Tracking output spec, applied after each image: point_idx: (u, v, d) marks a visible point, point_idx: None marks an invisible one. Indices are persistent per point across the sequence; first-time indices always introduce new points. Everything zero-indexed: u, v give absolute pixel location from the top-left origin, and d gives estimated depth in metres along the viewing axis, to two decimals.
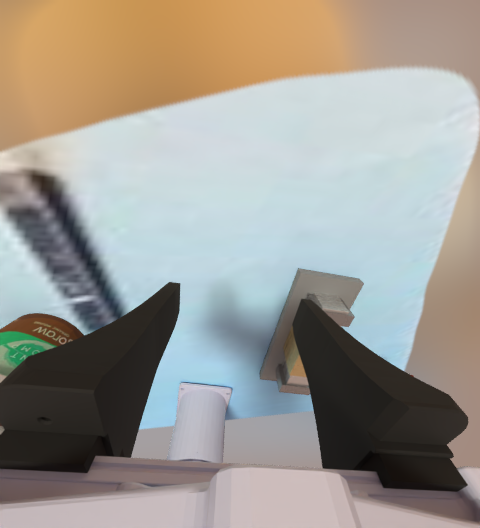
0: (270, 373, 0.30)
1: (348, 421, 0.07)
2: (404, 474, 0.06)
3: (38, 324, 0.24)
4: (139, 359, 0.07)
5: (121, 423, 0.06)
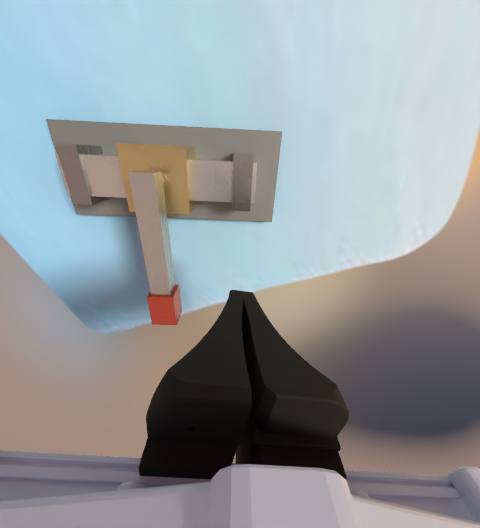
0: (71, 137, 0.16)
1: None
2: None
3: None
4: None
5: None
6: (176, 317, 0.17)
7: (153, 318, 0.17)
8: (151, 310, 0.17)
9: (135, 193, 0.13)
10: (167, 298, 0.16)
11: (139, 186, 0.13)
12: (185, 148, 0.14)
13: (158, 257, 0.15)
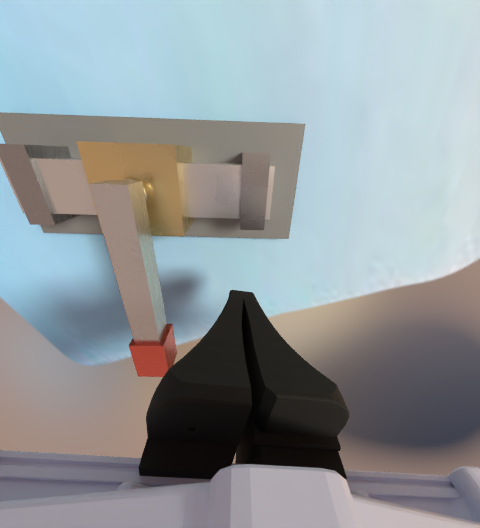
0: (28, 136, 0.13)
1: None
2: None
3: None
4: None
5: None
6: (168, 368, 0.13)
7: (139, 370, 0.13)
8: (135, 361, 0.13)
9: (102, 214, 0.09)
10: (156, 346, 0.12)
11: (107, 204, 0.09)
12: (175, 147, 0.10)
13: (141, 296, 0.11)
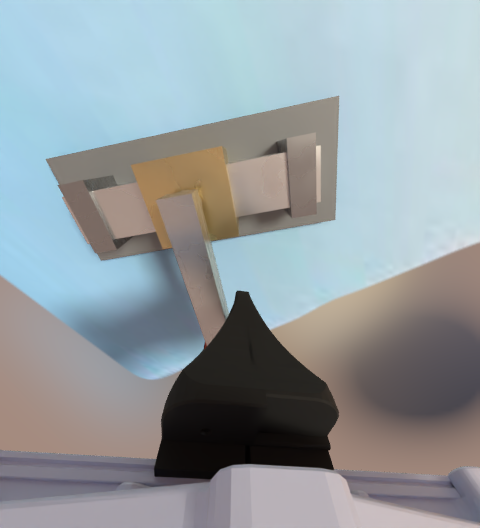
0: (78, 174, 0.14)
1: None
2: None
3: None
4: None
5: None
6: None
7: None
8: None
9: (170, 227, 0.09)
10: None
11: (174, 216, 0.09)
12: (222, 149, 0.10)
13: (211, 302, 0.11)
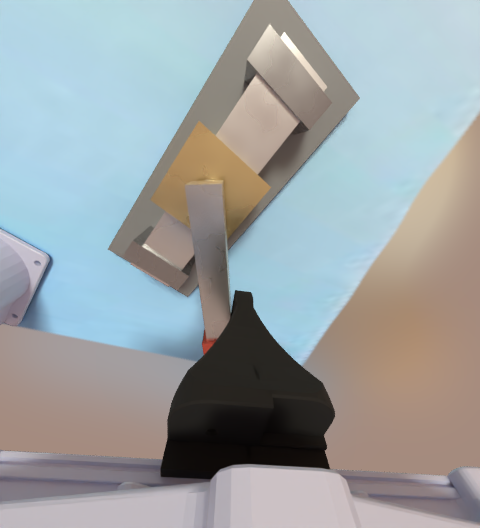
0: (130, 243, 0.16)
1: None
2: None
3: None
4: None
5: None
6: None
7: None
8: None
9: (193, 214, 0.09)
10: None
11: (199, 204, 0.09)
12: (201, 123, 0.09)
13: (220, 294, 0.11)
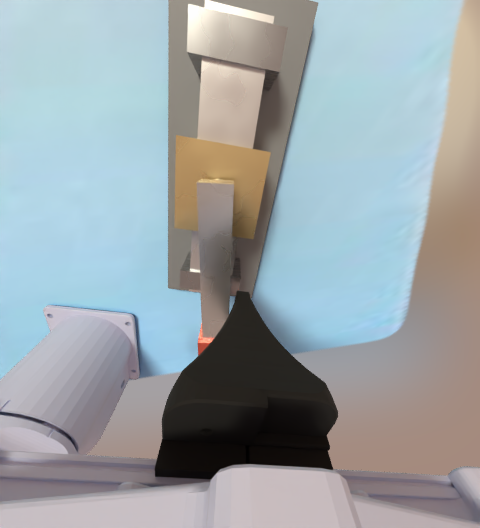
0: None
1: None
2: None
3: None
4: None
5: None
6: None
7: None
8: None
9: (202, 212, 0.09)
10: None
11: (210, 202, 0.09)
12: (179, 136, 0.10)
13: (221, 294, 0.11)
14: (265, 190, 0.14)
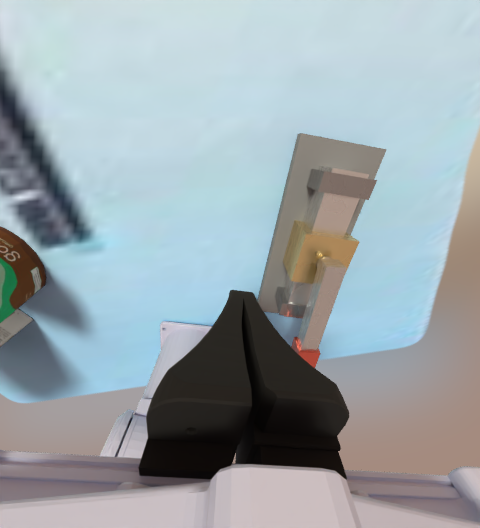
0: (269, 301, 0.24)
1: None
2: None
3: None
4: None
5: None
6: (314, 367, 0.20)
7: None
8: None
9: (325, 280, 0.16)
10: (315, 353, 0.19)
11: (331, 276, 0.16)
12: (307, 233, 0.16)
13: (321, 323, 0.18)
14: None
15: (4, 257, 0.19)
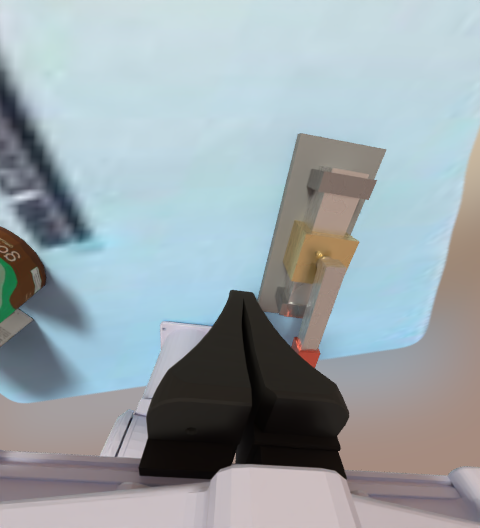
0: (269, 301, 0.24)
1: None
2: None
3: None
4: None
5: None
6: (314, 367, 0.20)
7: None
8: None
9: (325, 280, 0.16)
10: (315, 353, 0.19)
11: (331, 276, 0.16)
12: (307, 233, 0.16)
13: (321, 323, 0.18)
14: None
15: (4, 257, 0.19)
